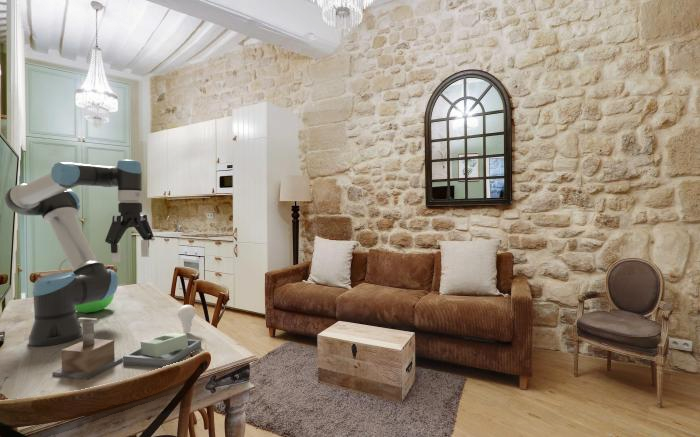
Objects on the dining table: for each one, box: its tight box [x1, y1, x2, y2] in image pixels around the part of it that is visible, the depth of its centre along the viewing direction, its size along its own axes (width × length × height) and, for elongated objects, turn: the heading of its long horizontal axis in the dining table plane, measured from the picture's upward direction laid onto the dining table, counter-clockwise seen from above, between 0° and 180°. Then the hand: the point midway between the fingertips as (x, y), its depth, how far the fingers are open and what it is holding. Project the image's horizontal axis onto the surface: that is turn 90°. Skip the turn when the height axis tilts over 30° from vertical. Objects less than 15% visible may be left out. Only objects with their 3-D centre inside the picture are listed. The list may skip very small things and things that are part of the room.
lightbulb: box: [177, 304, 196, 335], centre depth 135 cm, size 6×6×11 cm
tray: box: [122, 338, 202, 369], centre depth 115 cm, size 16×16×2 cm
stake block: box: [52, 317, 123, 380], centre depth 106 cm, size 12×12×15 cm
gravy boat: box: [76, 293, 115, 314], centre depth 162 cm, size 18×17×15 cm
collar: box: [140, 332, 188, 357], centre depth 115 cm, size 10×10×4 cm
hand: (131, 259), depth 132 cm, fingers open, 13 cm apart
